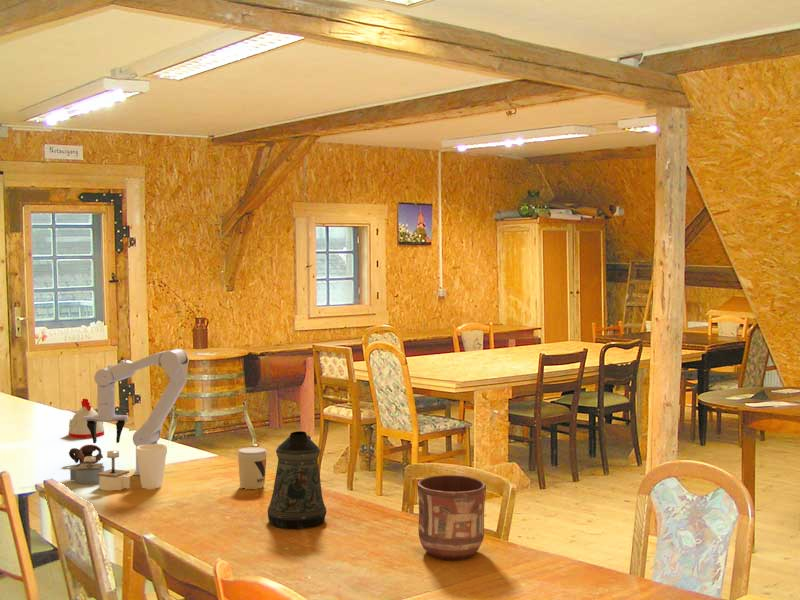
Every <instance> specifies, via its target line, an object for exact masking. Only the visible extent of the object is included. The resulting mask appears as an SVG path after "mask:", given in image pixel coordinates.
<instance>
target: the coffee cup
mask: <svg viewBox="0 0 800 600" xmlns="http://www.w3.org/2000/svg"><path fill="white" fill-rule="evenodd" d="M267 454H268V451H267V450H266V448H264V447H257V446H256V447H255V446H251V447H250V446H249V447H243V448H240V449H239V450H238V452H237V458H238V473H239V474H238V476H239V487H240V489H242V488H245V489H244V490H247V489H255V490H259V489H258V488H261V489H263V488H265V483H266V470H267V469H266V467H267ZM262 487H263V488H262Z"/></svg>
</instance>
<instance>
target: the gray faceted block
mask: <svg viewBox="0 0 800 600" xmlns="http://www.w3.org/2000/svg"><path fill="white" fill-rule="evenodd" d="M103 464H104V463H102V462H101V463H99V462H97V463H94V464H91V467H88V464H82V463H81V464H80V463H79V465H78V466H77V467H75V468H74V467H72V468H71V467H70V470H69V471H70V473H69V474H70V479H69V480H70V481H75V484H79V483H80V485H92V484H91V483H95V484H98V483H97V482H99V476H98V475H97V473H100V472H104V471H105V466H104V465H103Z"/></svg>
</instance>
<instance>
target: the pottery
mask: <svg viewBox="0 0 800 600" xmlns="http://www.w3.org/2000/svg"><path fill="white" fill-rule="evenodd" d="M416 486H417V488H416V489H417V495H418V496H417V497H418V526H417V527H418V529H417V530H418V538H419V541H420V544H421V546H422V548H423V550H424V551H426V552H427V553H428V555H430V556H431V557H433V558H436V559H440V560H447V561H458V560H459V559H461V560H464V559H469V558H471V557H473V555H474V554H476V553H477V551H479V549H480V547H481V546H482V543H483V541H484V538H485V537H484V536H485V502H486V501H485V500H486V493H487V485H486V484H485V482H484V481H482V480H480V479H478V478H475V477H471V476H465V475H457V474H456V475H453V474H450V475H449V474H443V475H432V476H426V477H424V478H422V479H419V480H418V481H417V485H416Z"/></svg>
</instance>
